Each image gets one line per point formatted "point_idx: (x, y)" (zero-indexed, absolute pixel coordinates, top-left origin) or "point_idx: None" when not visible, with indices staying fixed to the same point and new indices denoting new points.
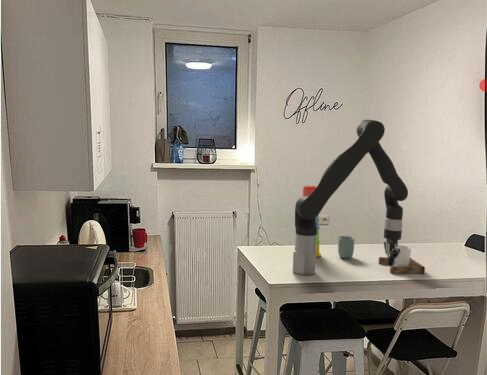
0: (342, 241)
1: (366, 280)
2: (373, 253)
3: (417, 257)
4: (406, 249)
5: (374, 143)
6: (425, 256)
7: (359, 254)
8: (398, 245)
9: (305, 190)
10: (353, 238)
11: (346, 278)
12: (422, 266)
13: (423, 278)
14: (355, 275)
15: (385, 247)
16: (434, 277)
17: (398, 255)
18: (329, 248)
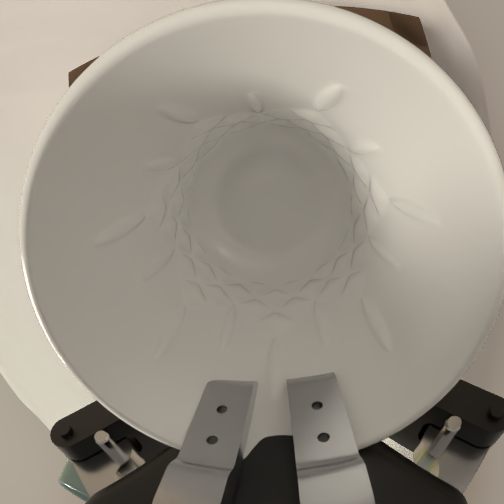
0: None
1: None
2: (2, 287)
3: (8, 42)
4: (129, 117)
5: None
6: (5, 12)
7: (48, 360)
8: (52, 327)
9: None
10: (77, 489)
11: (408, 453)
12: (396, 21)
13: (483, 107)
14: (388, 441)
15: (162, 450)
16: (446, 18)
17: (379, 328)
18: (50, 417)
